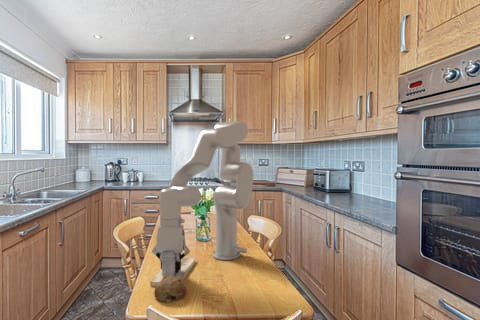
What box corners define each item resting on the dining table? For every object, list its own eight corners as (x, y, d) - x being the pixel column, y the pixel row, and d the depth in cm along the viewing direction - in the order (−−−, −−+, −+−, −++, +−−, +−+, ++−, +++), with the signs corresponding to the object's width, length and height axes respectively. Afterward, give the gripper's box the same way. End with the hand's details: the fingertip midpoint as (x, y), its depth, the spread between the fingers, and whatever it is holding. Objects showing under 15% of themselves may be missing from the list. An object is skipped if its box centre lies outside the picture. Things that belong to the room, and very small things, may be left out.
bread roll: (155, 314, 93) (157, 296, 90) (151, 287, 101) (153, 270, 98) (187, 307, 97) (189, 289, 94) (180, 282, 105) (182, 265, 102)
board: (195, 261, 127) (195, 258, 127) (178, 287, 103) (178, 282, 103) (172, 261, 128) (172, 257, 128) (150, 285, 104) (150, 281, 104)
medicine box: (173, 277, 107) (173, 253, 107) (161, 276, 108) (161, 252, 107) (180, 269, 115) (180, 246, 115) (169, 268, 115) (169, 246, 115)
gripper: (195, 220, 113) (195, 267, 114) (152, 219, 115) (153, 266, 115) (190, 225, 106) (190, 276, 106) (144, 223, 108) (144, 274, 108)
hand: (170, 270), depth 111 cm, fingers closed on medicine box, 4 cm apart
